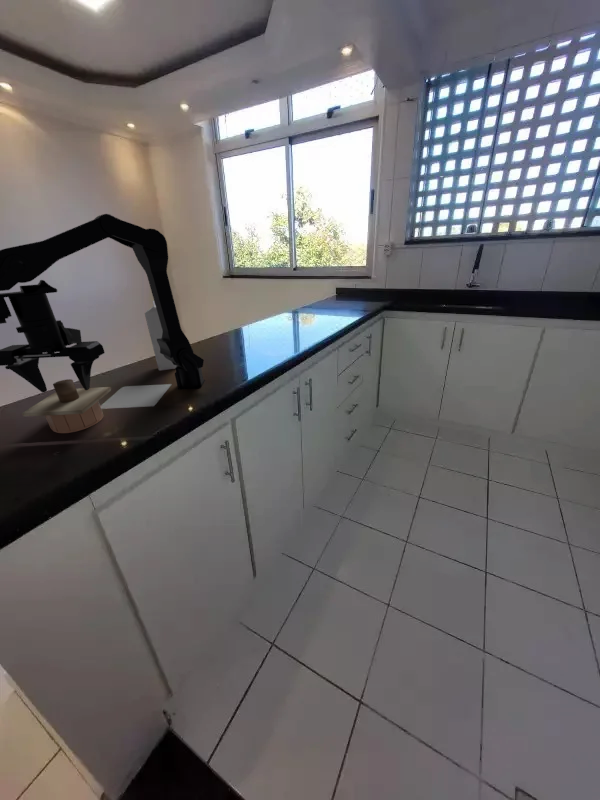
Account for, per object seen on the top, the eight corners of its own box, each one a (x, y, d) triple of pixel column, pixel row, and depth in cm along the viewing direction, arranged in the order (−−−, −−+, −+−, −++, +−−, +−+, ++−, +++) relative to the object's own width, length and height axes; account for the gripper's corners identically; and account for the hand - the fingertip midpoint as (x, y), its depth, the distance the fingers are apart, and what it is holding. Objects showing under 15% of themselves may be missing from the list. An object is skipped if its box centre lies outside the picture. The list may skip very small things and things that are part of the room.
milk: (159, 372, 101) (141, 302, 91) (161, 366, 106) (144, 299, 96) (178, 369, 102) (163, 300, 93) (179, 364, 108) (164, 298, 98)
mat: (172, 385, 90) (171, 384, 90) (154, 408, 77) (153, 406, 77) (123, 388, 90) (123, 386, 89) (97, 411, 77) (96, 409, 77)
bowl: (112, 412, 76) (105, 391, 74) (89, 433, 67) (80, 411, 65) (70, 414, 76) (62, 394, 74) (42, 436, 67) (31, 414, 65)
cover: (111, 389, 75) (105, 371, 73) (82, 413, 64) (74, 392, 62) (60, 392, 74) (53, 373, 72) (23, 416, 64) (13, 395, 62)
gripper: (106, 309, 69) (125, 375, 75) (19, 313, 68) (47, 378, 75) (75, 319, 59) (102, 394, 66) (-26, 324, 58) (11, 399, 65)
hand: (66, 390), depth 68 cm, fingers open, 9 cm apart
